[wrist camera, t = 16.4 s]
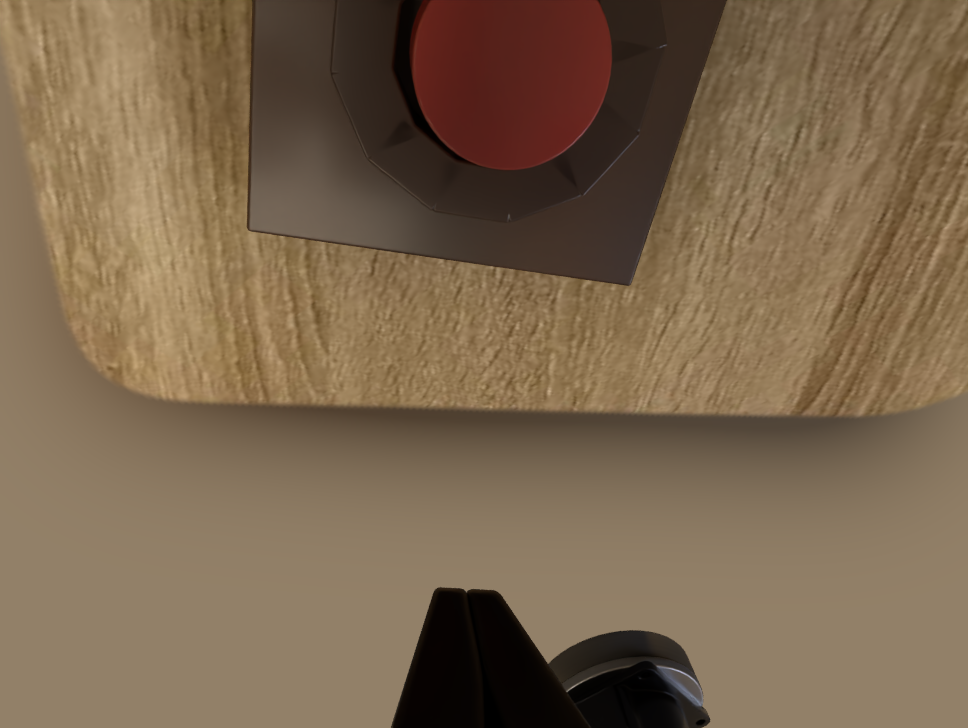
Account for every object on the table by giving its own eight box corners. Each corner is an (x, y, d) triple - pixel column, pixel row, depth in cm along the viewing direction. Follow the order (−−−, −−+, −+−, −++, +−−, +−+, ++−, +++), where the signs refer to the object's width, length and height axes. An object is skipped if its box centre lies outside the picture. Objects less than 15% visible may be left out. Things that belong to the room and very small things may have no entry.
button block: (736, -155, 15) (839, -191, 11) (608, 257, 20) (654, 317, 16) (278, -294, 13) (239, -387, 9) (261, 204, 18) (230, 260, 14)
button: (610, -24, 13) (639, -23, 11) (562, 162, 14) (582, 185, 13) (424, -70, 12) (429, -76, 10) (397, 133, 14) (399, 153, 12)
